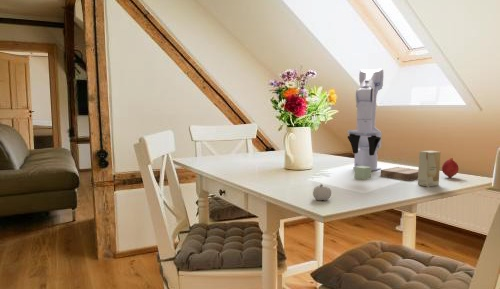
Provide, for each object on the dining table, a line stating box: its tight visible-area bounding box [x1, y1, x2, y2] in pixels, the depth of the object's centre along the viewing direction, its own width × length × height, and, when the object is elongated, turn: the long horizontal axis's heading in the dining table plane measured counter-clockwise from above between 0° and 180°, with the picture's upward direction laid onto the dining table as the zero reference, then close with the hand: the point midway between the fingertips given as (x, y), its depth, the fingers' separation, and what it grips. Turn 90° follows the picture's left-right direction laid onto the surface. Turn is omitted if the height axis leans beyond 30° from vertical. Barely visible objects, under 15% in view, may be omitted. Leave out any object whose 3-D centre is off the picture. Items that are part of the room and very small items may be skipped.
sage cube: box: [353, 166, 372, 180], centre depth 155 cm, size 4×4×4 cm
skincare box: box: [417, 150, 442, 188], centre depth 140 cm, size 6×4×12 cm
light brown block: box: [380, 166, 419, 181], centre depth 158 cm, size 12×12×2 cm
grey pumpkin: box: [312, 183, 332, 201], centre depth 120 cm, size 6×5×5 cm
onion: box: [441, 157, 460, 179], centre depth 154 cm, size 6×6×8 cm
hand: (363, 154), depth 154 cm, fingers open, 7 cm apart
